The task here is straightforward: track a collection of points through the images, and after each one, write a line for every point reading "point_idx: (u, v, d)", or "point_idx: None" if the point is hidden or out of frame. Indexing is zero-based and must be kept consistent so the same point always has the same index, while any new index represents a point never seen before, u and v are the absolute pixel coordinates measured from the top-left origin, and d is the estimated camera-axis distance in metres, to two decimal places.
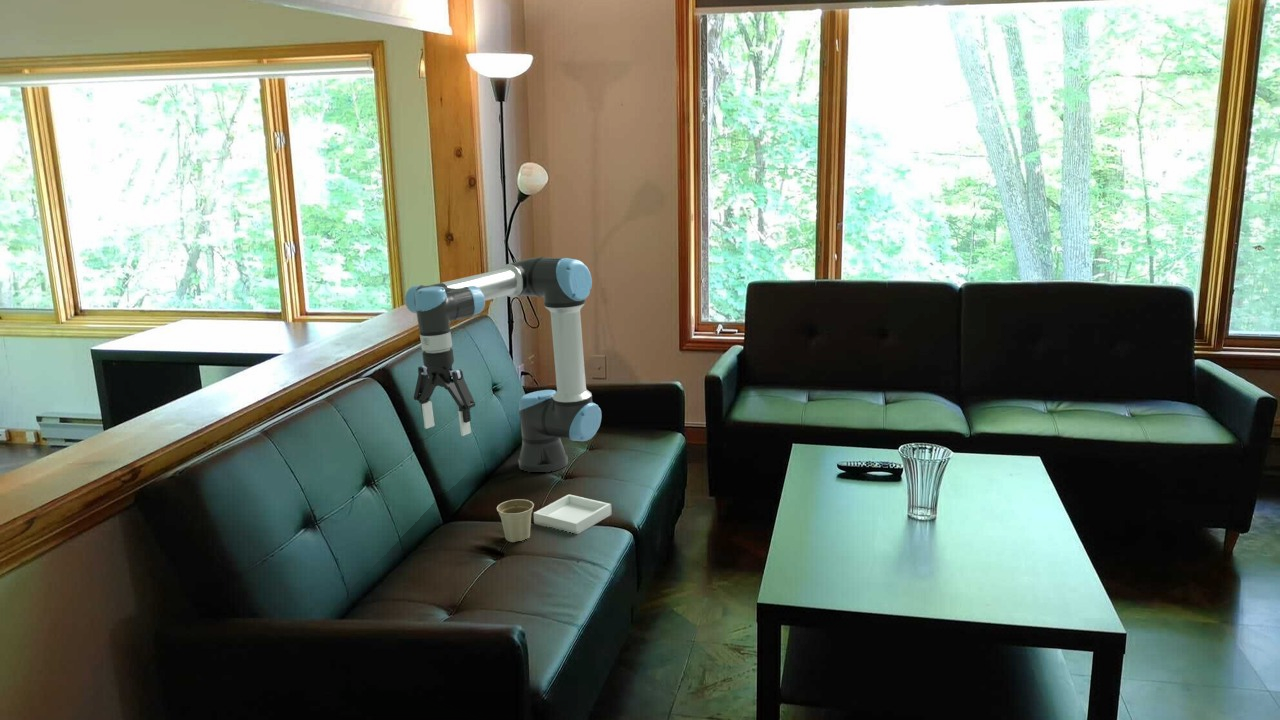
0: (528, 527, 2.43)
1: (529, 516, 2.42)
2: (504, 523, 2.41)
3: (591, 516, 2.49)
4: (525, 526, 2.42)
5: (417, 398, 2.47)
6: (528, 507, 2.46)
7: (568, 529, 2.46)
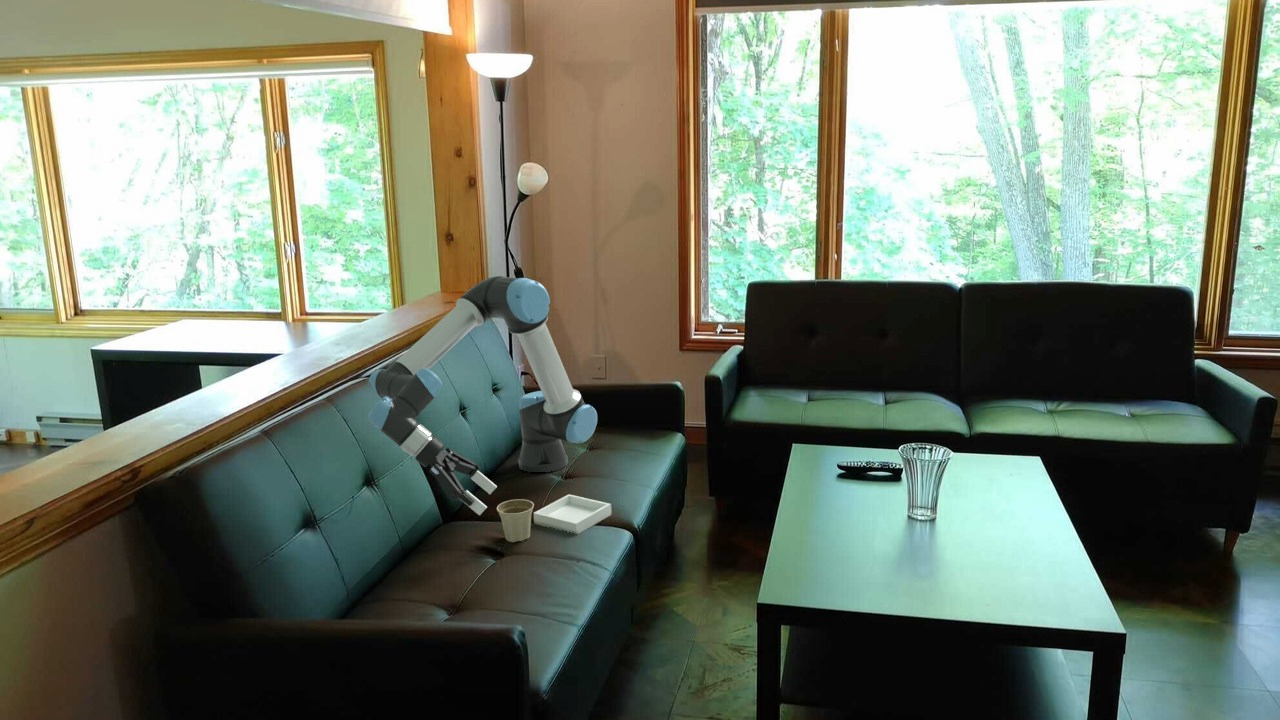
0: (528, 527, 2.43)
1: (529, 516, 2.42)
2: (504, 523, 2.41)
3: (591, 516, 2.49)
4: (525, 526, 2.42)
5: None
6: (528, 507, 2.46)
7: (568, 529, 2.46)
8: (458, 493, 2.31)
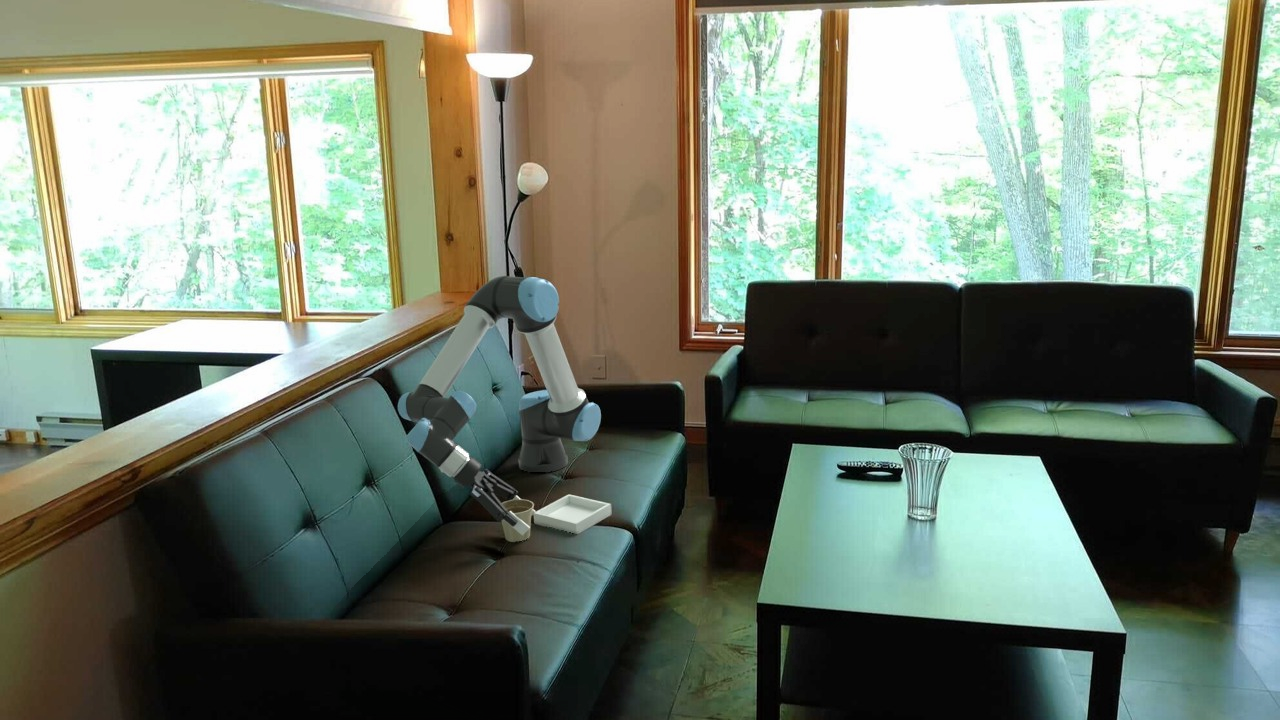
0: None
1: (529, 516, 2.42)
2: (504, 523, 2.41)
3: (591, 516, 2.49)
4: None
5: None
6: (528, 507, 2.46)
7: (568, 529, 2.46)
8: (502, 514, 2.35)
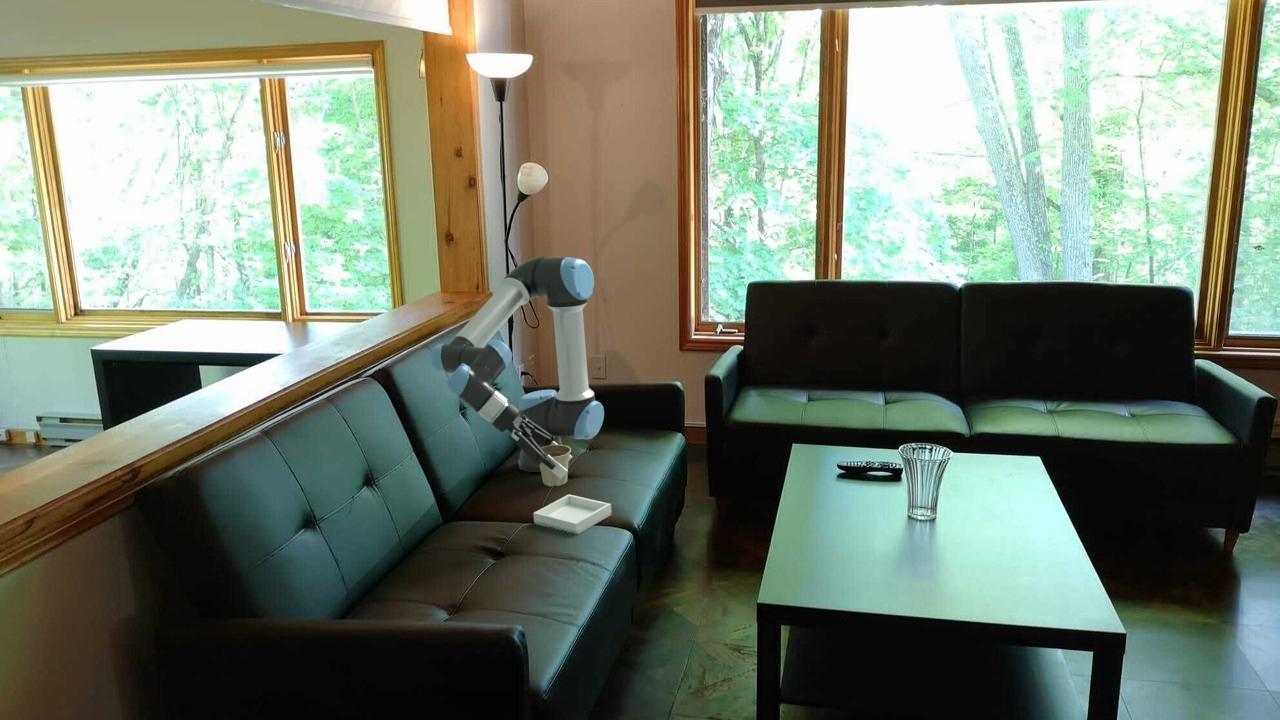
0: None
1: (566, 460, 2.46)
2: (542, 467, 2.45)
3: (591, 516, 2.49)
4: None
5: None
6: (565, 452, 2.50)
7: (568, 529, 2.46)
8: (541, 457, 2.39)
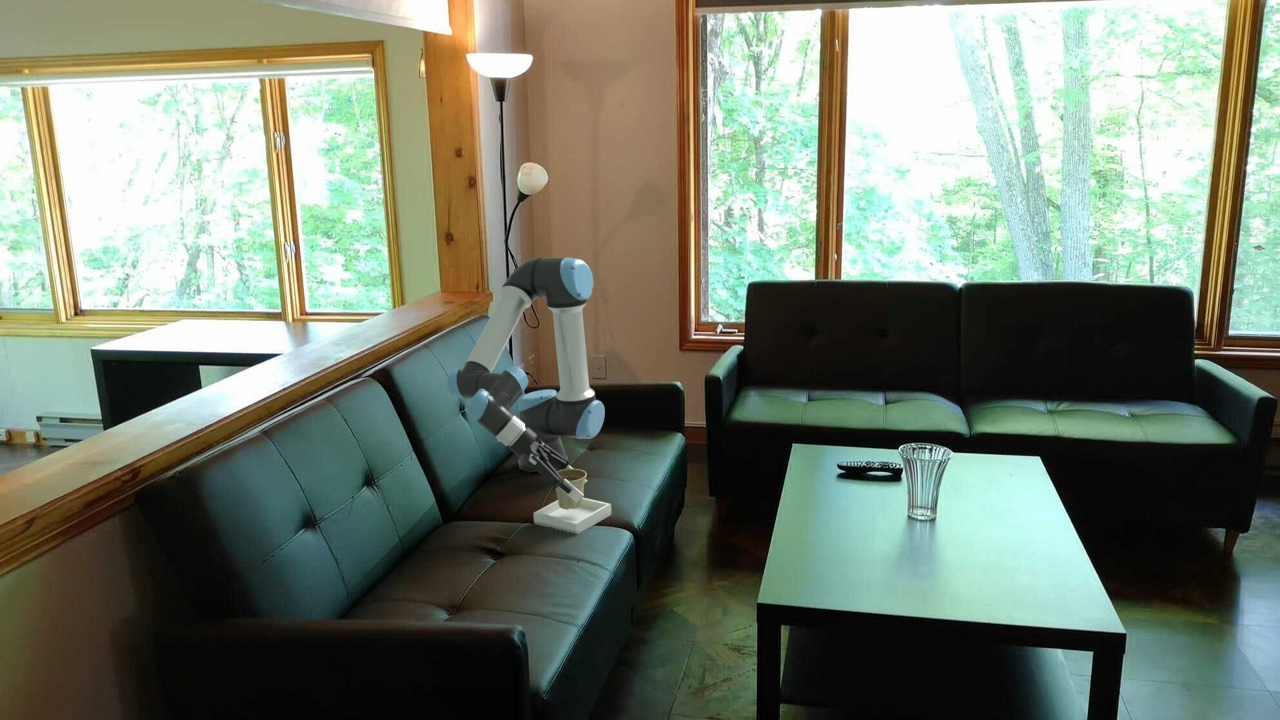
0: None
1: (582, 484, 2.51)
2: (558, 491, 2.50)
3: (591, 516, 2.49)
4: None
5: None
6: (581, 476, 2.55)
7: (568, 529, 2.46)
8: (558, 481, 2.43)
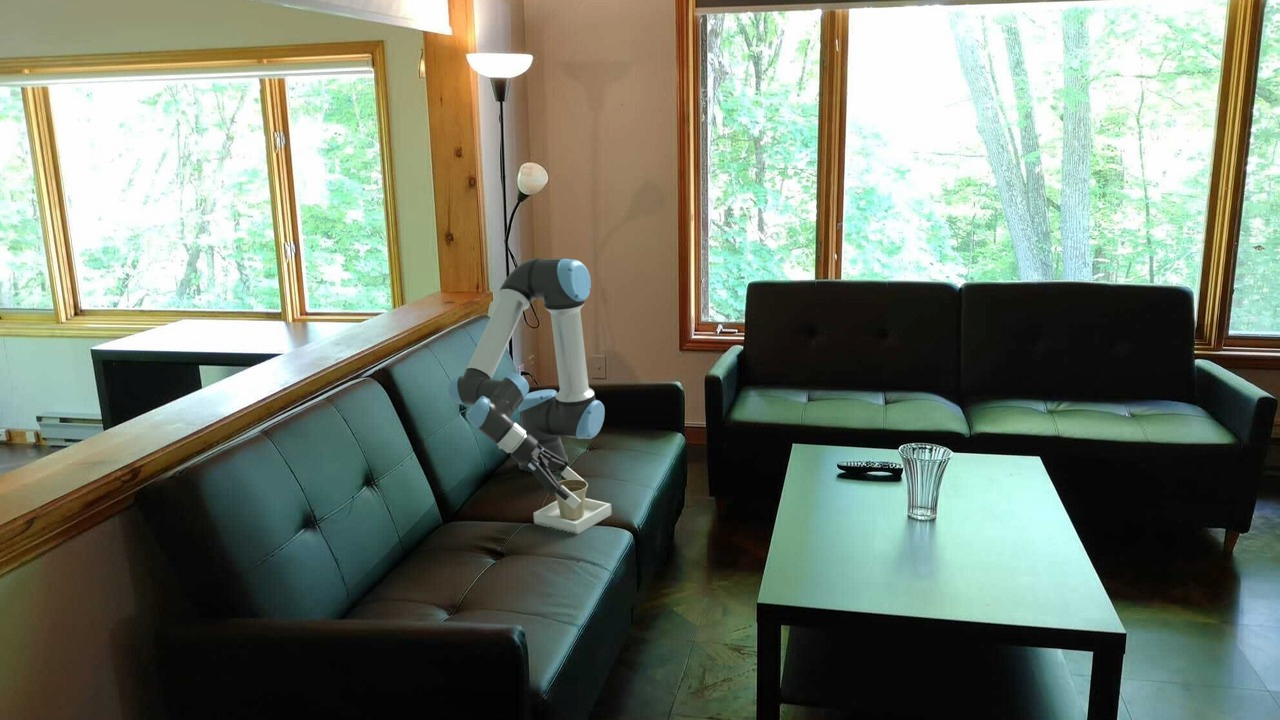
0: (583, 505, 2.52)
1: (584, 495, 2.52)
2: (560, 502, 2.51)
3: (591, 516, 2.49)
4: (580, 504, 2.51)
5: None
6: (582, 486, 2.56)
7: (568, 529, 2.46)
8: (555, 488, 2.42)
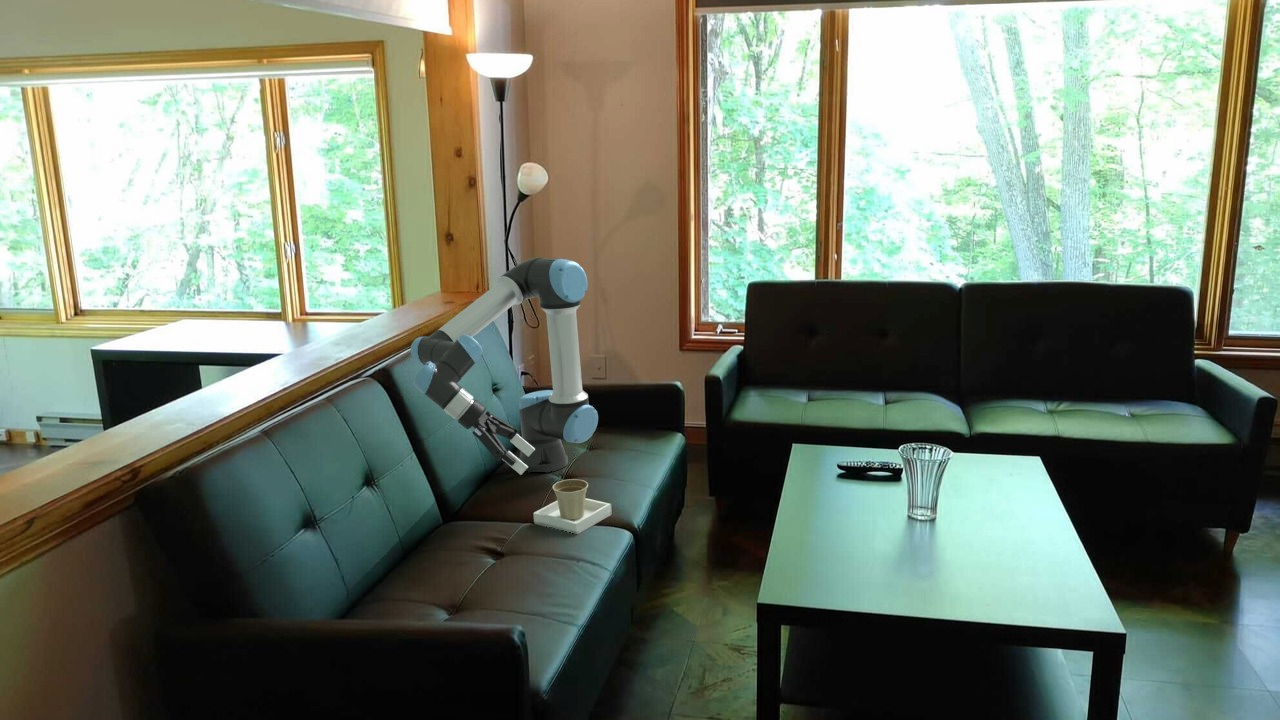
0: (583, 505, 2.52)
1: (584, 495, 2.52)
2: (560, 501, 2.51)
3: (591, 516, 2.49)
4: (580, 504, 2.51)
5: None
6: (582, 486, 2.56)
7: (568, 529, 2.46)
8: (501, 453, 2.40)
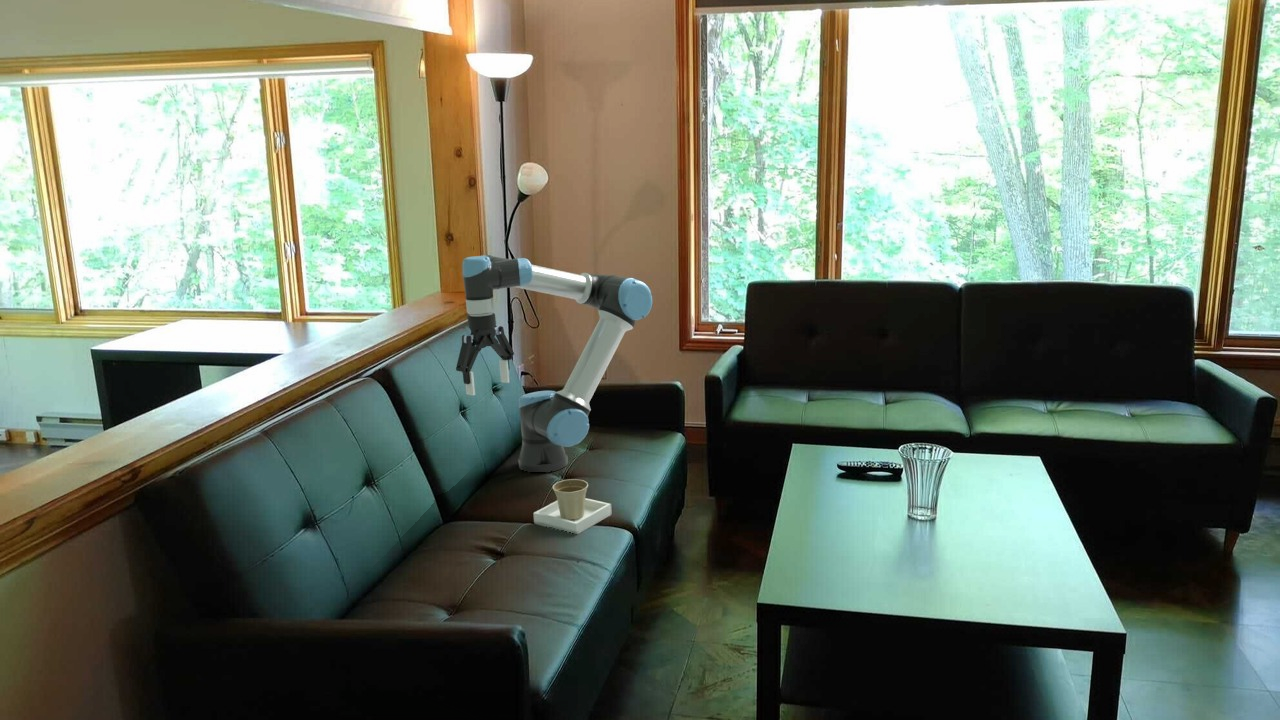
0: (583, 505, 2.52)
1: (584, 495, 2.52)
2: (560, 501, 2.51)
3: (591, 516, 2.49)
4: (580, 504, 2.51)
5: None
6: (582, 486, 2.56)
7: (568, 529, 2.46)
8: (461, 370, 2.56)
